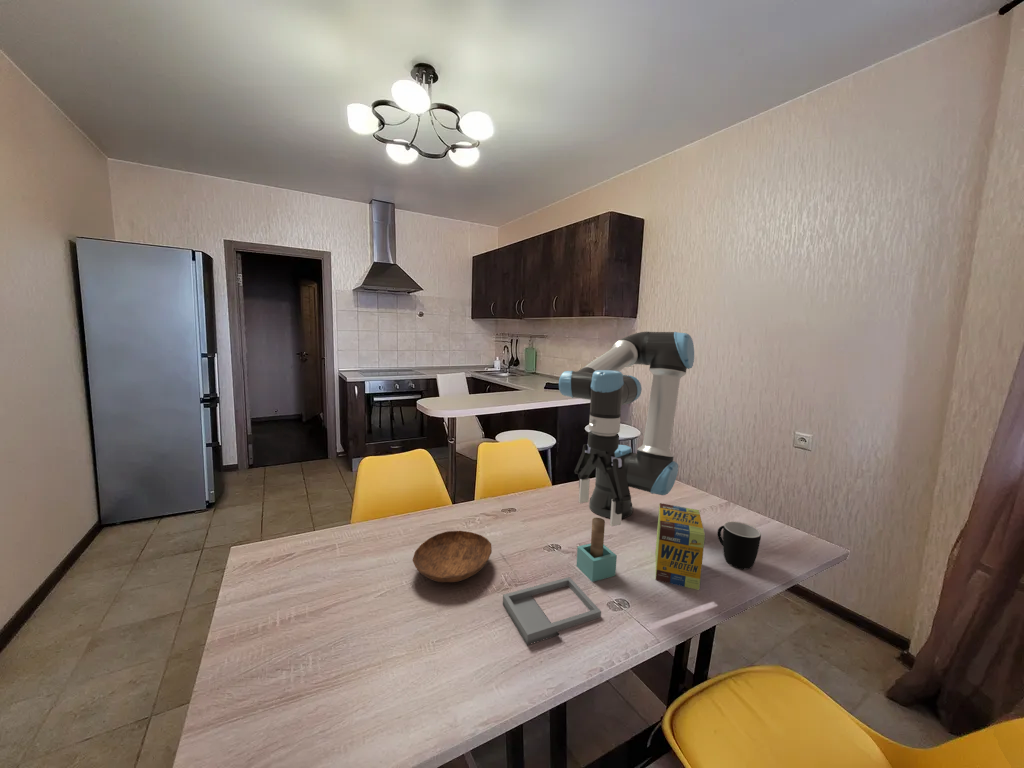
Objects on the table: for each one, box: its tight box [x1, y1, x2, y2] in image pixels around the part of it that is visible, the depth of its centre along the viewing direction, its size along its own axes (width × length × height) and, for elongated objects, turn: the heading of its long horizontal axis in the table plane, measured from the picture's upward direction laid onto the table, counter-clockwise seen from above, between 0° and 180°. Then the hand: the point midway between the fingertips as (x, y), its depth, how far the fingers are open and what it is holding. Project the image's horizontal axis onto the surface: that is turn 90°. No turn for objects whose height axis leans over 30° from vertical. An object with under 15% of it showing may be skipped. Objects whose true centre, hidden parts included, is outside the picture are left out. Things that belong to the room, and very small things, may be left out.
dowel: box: [590, 517, 606, 558], centre depth 102 cm, size 3×3×14 cm
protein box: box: [654, 502, 706, 591], centre depth 105 cm, size 10×15×16 cm
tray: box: [502, 576, 602, 646], centre depth 89 cm, size 13×18×2 cm
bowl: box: [412, 530, 493, 583], centre depth 104 cm, size 20×22×5 cm
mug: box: [716, 520, 762, 570], centre depth 111 cm, size 12×9×10 cm
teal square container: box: [575, 542, 618, 583], centre depth 103 cm, size 7×7×7 cm
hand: (598, 513), depth 101 cm, fingers open, 13 cm apart
